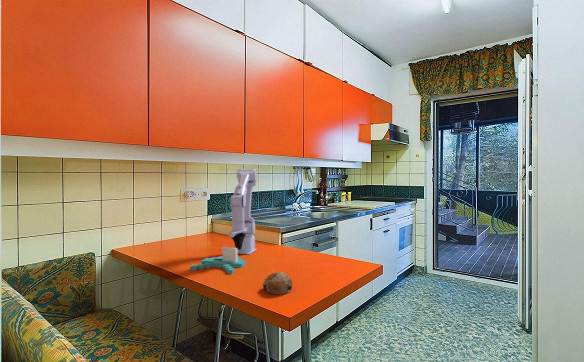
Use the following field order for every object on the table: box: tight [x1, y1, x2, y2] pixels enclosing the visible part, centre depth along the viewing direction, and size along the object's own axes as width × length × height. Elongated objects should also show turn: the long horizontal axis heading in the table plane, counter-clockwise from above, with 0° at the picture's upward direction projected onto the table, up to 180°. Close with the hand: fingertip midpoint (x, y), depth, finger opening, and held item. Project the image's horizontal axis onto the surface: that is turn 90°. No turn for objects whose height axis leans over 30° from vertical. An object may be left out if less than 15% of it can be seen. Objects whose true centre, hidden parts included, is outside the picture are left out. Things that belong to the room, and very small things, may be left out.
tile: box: [221, 246, 239, 262], centre depth 144 cm, size 2×7×6 cm, turn 68°
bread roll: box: [262, 271, 293, 295], centre depth 114 cm, size 10×10×8 cm
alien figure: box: [189, 255, 247, 275], centre depth 144 cm, size 20×2×20 cm
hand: (238, 249), depth 150 cm, fingers closed
